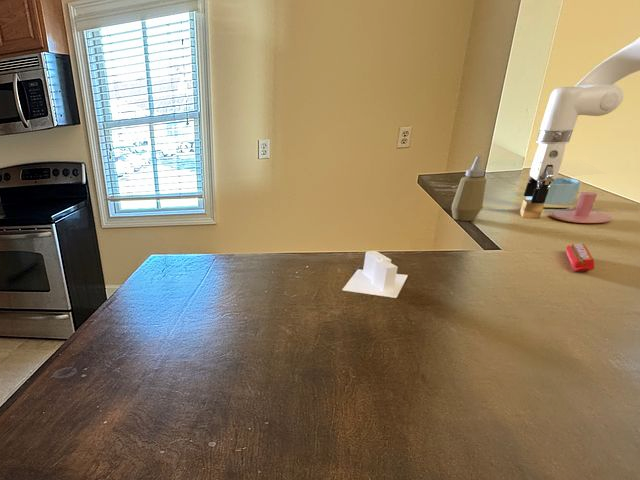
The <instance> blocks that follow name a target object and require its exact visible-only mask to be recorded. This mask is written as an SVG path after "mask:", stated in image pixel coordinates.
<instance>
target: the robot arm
mask: <svg viewBox="0 0 640 480" xmlns="http://www.w3.org/2000/svg"><path fill="white" fill-rule="evenodd" d="M639 71H640V36H638V38H637V39H635V40H634V41H633V42H631V43H629V44H628V45H626V46H625V47H622V48H621V49H620V50H618V51H617V52H615V53H614V54H612V55H611V56H609V57H608V58H605V59H604V60H603V61H601V62H600V63H599V64H597V65H596V66H595V67H593V68H592V69H591V70H590V71H589V72H588V73H586V75H585V76H583V77H582V78H581V80H579V81H578V83H576V84H575V85H574V86H560V87H556V88H555V89H553V90H552V92H551V93H550V96H549V98H548V102H547V105H546V108H545V111H544V114H543V118H542V121H541V125H540V127H539V130H538V134H537V137H536V141H535V143H536V144H538V146H537V149H536V151H535V155H534V156H533V157H534V158H533V160H532V163H531V167H530V170H529V178H528V181H527V182H526V183H527V184H526V187H525V190H524V193H523V196H524V197H526V196H532V200H531V203H541V204H543V203H544V202H545V199H546V197H547V194H548V191H549V188H550V184H551V181H555V180H556V179H557V177H559V173H560V168H561V165H562V162H563V158H564V154H565V149H566V144H569V143H570V139H571V138H572V134H573V132H574V129H575V125H576V122H577V120H578V117H579V116H588V117H600V116H605V115H608V114H611V113H612V112H614V111H616V109H618V108H619V106H620V105H621V104H622V102H623V100H624V92H623V89H622V88H621V87H619V86H618V85H616V83H617V82H619V81H620V80H622V79H624V78H625V77H628V76H629V75H631V74H635V73H637V72H639ZM541 182H542V183H541Z"/></svg>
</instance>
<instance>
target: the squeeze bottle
mask: <svg viewBox="0 0 640 480" xmlns="http://www.w3.org/2000/svg"><path fill="white" fill-rule="evenodd" d="M485 171H486V170H485V169H484V168H482V155H477V156H476V157H475V159H474V161H473V163H472V166H471V168H468V169H466V170H465V176H463V177H462V178H461V179H460V181H459V182H458V183H459V184H458V186H457V189H456V192H455V195H454V197H453V201H452V204H451V214H452V219H453V220H456V221H461V222H469V221H470V222H471V221H474V220H476V218H477V217H478V215H479V214H480V212H481V210H482V208H483V205H484V197H485V192H486V191H485V190H486V185H487V178H486V177H485V176H484V175H485Z"/></svg>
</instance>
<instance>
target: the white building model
mask: <svg viewBox="0 0 640 480" xmlns="http://www.w3.org/2000/svg"><path fill="white" fill-rule="evenodd" d="M398 268H399V266H397V265H395V264H394V263H392V258H389V257H388V256H385V255H384V254H383V253H380V252H379V251H377V250H370V251H365V255H364V262H363V268H361V269H359V268H357V270H356V271H355V272H354V274H353V275H352V276H351V278H350V279H349V280H348V281H347V283H346V284H345V285H344V287H343V288H342V289H341V291H344V292H351V293H358V294H359V293H360V294H365V295H373V296H379V297H384V298H385V297H386V298H393V299H397V298H398V296H399V294H400V292H401V290H402V289H403V287H404V285H405V282H406V280H407V278H408V277H409V275H408V274H401V273H397V272H398Z"/></svg>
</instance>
